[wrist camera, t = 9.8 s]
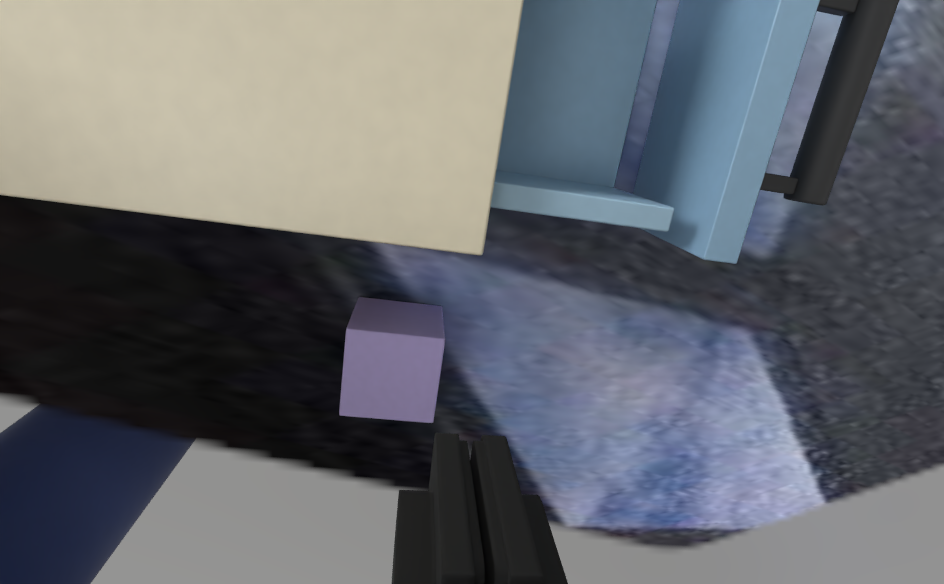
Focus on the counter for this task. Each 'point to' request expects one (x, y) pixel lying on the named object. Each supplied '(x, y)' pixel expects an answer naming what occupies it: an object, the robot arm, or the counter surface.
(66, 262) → the counter surface
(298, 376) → the counter surface
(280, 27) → the drawer cabinet
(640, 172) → the blue drawer
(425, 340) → the lavender cube
